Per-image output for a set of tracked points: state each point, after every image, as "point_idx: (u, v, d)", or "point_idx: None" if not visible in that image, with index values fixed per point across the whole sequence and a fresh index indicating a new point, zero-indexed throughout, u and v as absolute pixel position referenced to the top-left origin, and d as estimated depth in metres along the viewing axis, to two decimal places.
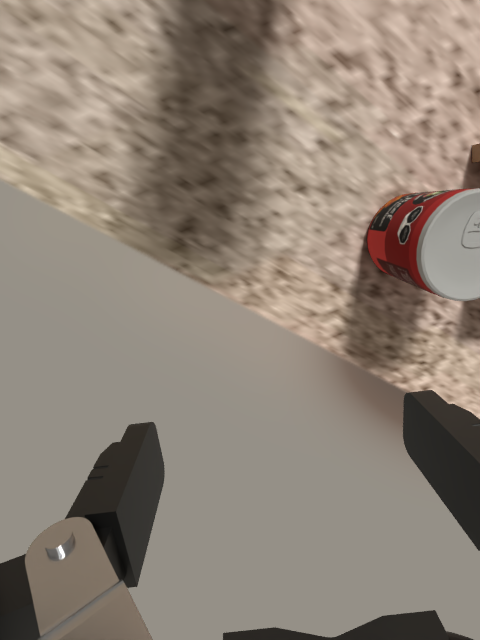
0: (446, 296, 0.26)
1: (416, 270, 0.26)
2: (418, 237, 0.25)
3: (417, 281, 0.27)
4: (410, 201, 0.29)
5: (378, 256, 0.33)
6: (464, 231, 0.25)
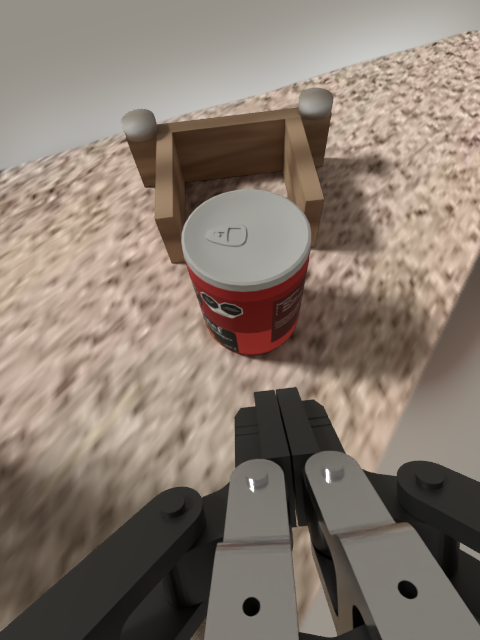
0: (304, 252, 0.20)
1: (271, 289, 0.20)
2: (229, 291, 0.20)
3: (287, 288, 0.21)
4: (202, 308, 0.25)
5: (268, 339, 0.26)
6: (226, 244, 0.21)
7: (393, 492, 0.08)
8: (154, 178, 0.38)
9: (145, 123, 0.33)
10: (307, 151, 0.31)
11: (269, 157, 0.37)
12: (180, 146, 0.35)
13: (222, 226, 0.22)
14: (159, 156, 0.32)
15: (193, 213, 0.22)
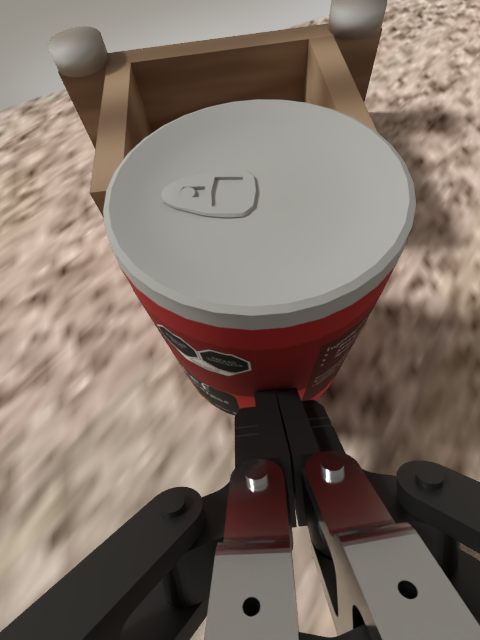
0: (407, 227, 0.08)
1: (324, 321, 0.08)
2: (218, 328, 0.08)
3: (358, 315, 0.09)
4: (171, 349, 0.13)
5: None
6: (209, 214, 0.09)
7: (393, 492, 0.08)
8: None
9: (85, 45, 0.20)
10: (349, 82, 0.19)
11: None
12: (146, 88, 0.23)
13: (200, 174, 0.10)
14: (107, 96, 0.20)
15: (136, 148, 0.10)
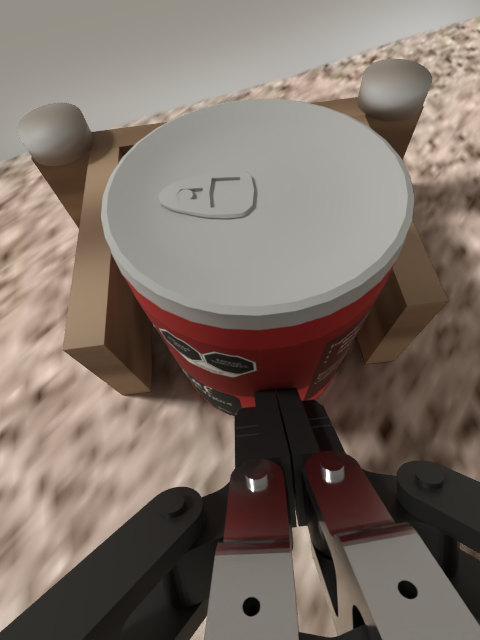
0: (407, 221, 0.08)
1: (330, 318, 0.08)
2: (224, 329, 0.08)
3: (362, 310, 0.09)
4: None
5: None
6: (209, 215, 0.09)
7: (393, 492, 0.08)
8: None
9: (62, 131, 0.17)
10: None
11: None
12: None
13: (197, 176, 0.10)
14: (90, 196, 0.16)
15: (130, 152, 0.10)
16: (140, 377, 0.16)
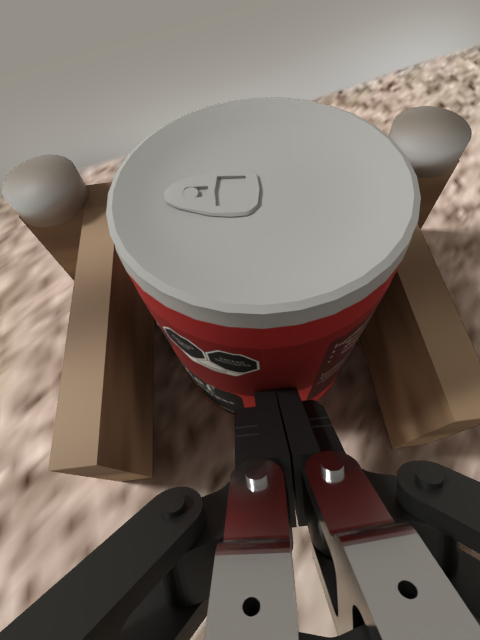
0: (413, 220, 0.08)
1: (334, 318, 0.08)
2: (228, 328, 0.08)
3: (366, 310, 0.09)
4: None
5: (301, 400, 0.14)
6: (213, 214, 0.09)
7: (393, 492, 0.08)
8: None
9: (53, 190, 0.15)
10: (425, 259, 0.13)
11: None
12: None
13: (202, 174, 0.10)
14: (83, 266, 0.14)
15: (136, 150, 0.10)
16: (139, 471, 0.14)
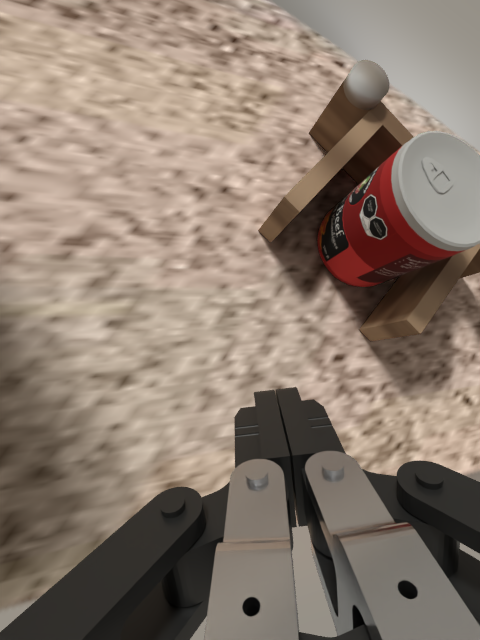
0: (473, 244, 0.22)
1: (425, 244, 0.22)
2: (401, 215, 0.21)
3: (431, 255, 0.23)
4: (347, 206, 0.26)
5: (359, 273, 0.28)
6: (429, 181, 0.22)
7: (393, 492, 0.08)
8: (324, 136, 0.32)
9: (371, 92, 0.26)
10: (456, 276, 0.27)
11: None
12: (374, 141, 0.29)
13: (439, 164, 0.22)
14: (348, 137, 0.27)
15: (432, 132, 0.22)
16: None
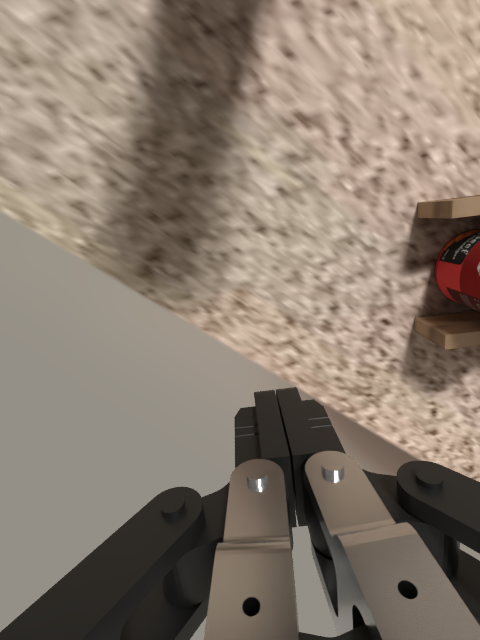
0: None
1: None
2: None
3: None
4: None
5: (450, 286, 0.36)
6: None
7: (393, 492, 0.08)
8: None
9: None
10: None
11: None
12: None
13: None
14: None
15: None
16: (428, 217, 0.35)
